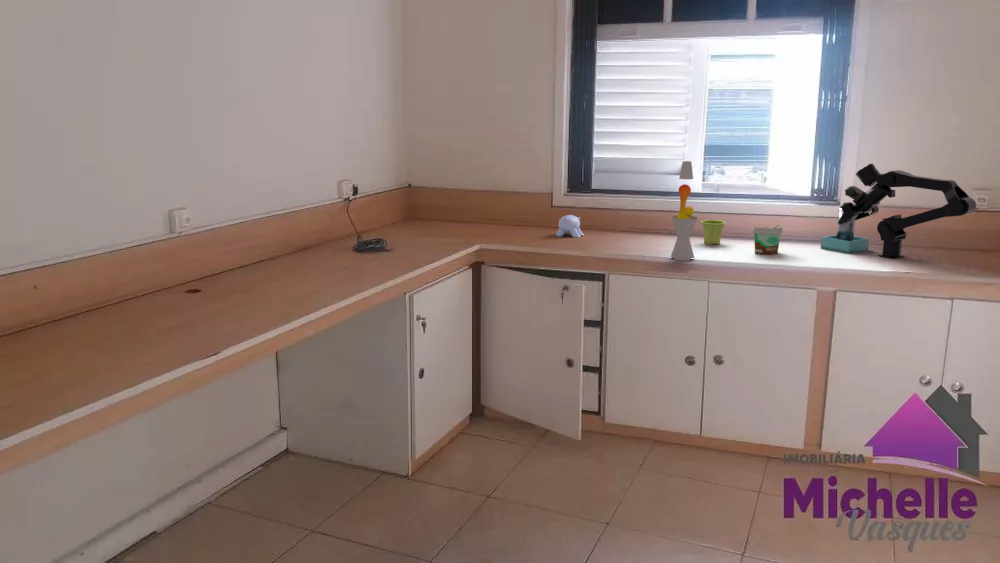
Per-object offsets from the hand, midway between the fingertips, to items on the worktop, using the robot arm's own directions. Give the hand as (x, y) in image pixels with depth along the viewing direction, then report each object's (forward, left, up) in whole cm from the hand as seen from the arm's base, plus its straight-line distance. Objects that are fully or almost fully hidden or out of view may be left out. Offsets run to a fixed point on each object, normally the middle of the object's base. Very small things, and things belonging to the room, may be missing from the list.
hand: (843, 222), depth 307 cm
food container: (-30, +9, -10) cm, 33 cm away
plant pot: (-32, +36, -10) cm, 49 cm away
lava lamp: (-63, +21, -10) cm, 67 cm away
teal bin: (0, -1, -10) cm, 10 cm away
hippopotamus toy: (-67, +82, -10) cm, 107 cm away
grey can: (0, -1, -7) cm, 7 cm away
